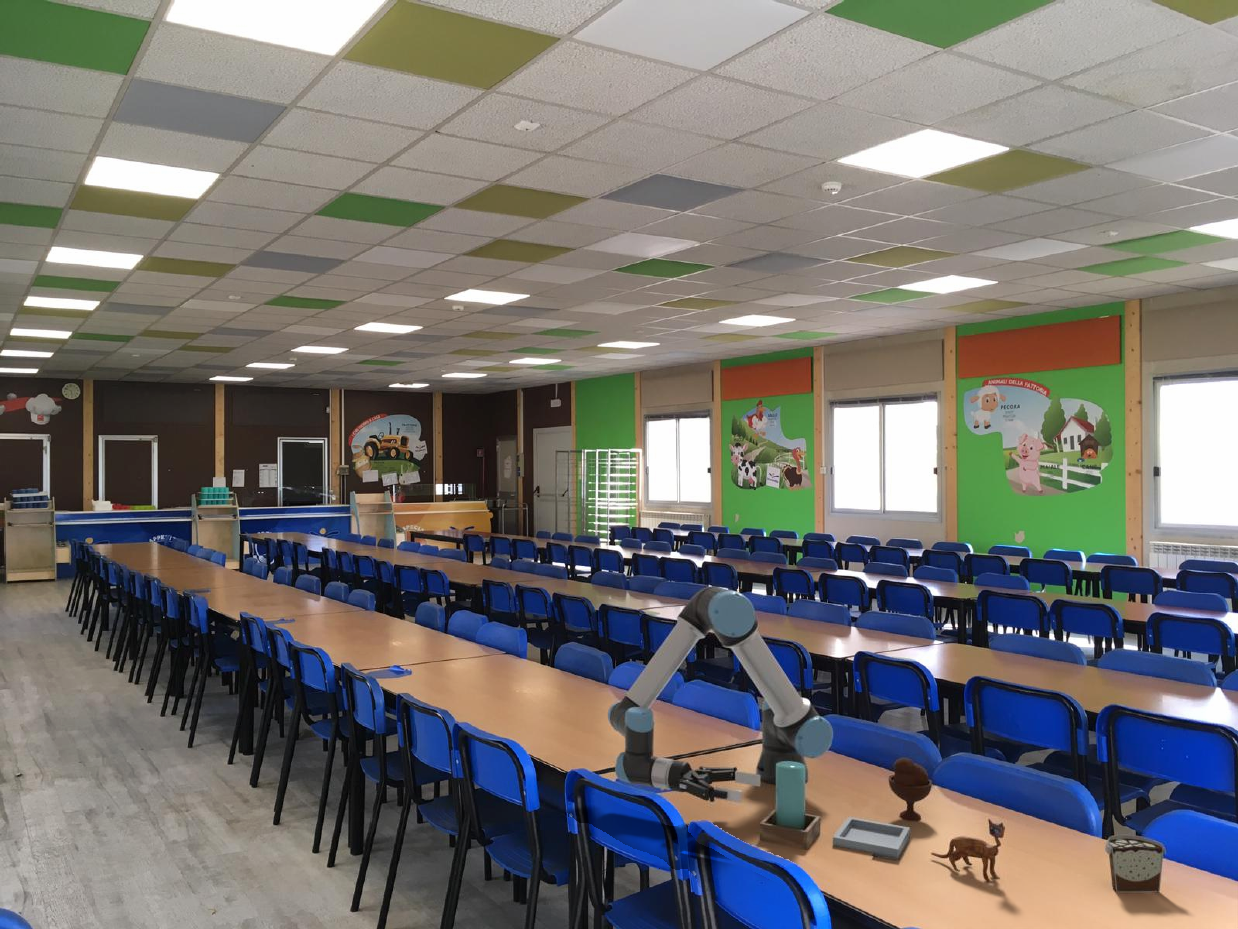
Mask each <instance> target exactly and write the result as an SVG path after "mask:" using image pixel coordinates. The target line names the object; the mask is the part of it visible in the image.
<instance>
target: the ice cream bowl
mask: <svg viewBox="0 0 1238 929" xmlns="http://www.w3.org/2000/svg"><path fill="white" fill-rule="evenodd" d="M893 773H894V774H892V775H889V777H888V784H889V788H890V789H891V791H892V793H894V795H895V796H897V797H898V798H900V800H903V801H905V803H906V809H905V810H903V811H901V812H900V813H899V818H901V819H902V820H905V821H909V822H918V821H920V820H922V816H921V814H919V812H917V811H915V810H914V809H915V808H914V807H915V806H914V805H915V803H916V802H917V803H918V802H920V801H922V800H924V799H925V798H927V797H928V796H929V795H930V793H931V790H932V786H933V780H931V779H929V776H928V772H927V770H926V769H925V768H924V766H922V765H920V764H918V763H915V762H914V761H913V759H911V758H908V757H900V758H898V759H896V760H895V762H894V763H893Z"/></svg>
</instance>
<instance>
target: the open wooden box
mask: <svg viewBox="0 0 1238 929" xmlns="http://www.w3.org/2000/svg"><path fill="white" fill-rule="evenodd" d="M820 834H821V816H820V815H814V814H809V813H805V831H804V830H799V829H793V828H788V827H783V826H777V825H776V807H775V808H774V809H773V810H771V812H769V814H767V815H766V817H764V818H763V820H761V821H760V822H759V841H763V842H768V843H773V844H778V845H782V846H787V847H793V848H798V849H803V850H808V849H809V848H810V847H811V845H812V844H813V843H814V841H815V840H816V839H817V838H818V837H819V835H820Z"/></svg>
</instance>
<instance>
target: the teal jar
mask: <svg viewBox="0 0 1238 929" xmlns="http://www.w3.org/2000/svg"><path fill="white" fill-rule="evenodd" d="M775 808H776V825H777V826H783V827H788V828H793V829H799V830H804V831H805V814H806V782H805V765H804V764H802V763H799V762H793V761H783V762H778V763H777V764H776V784H775Z"/></svg>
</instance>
